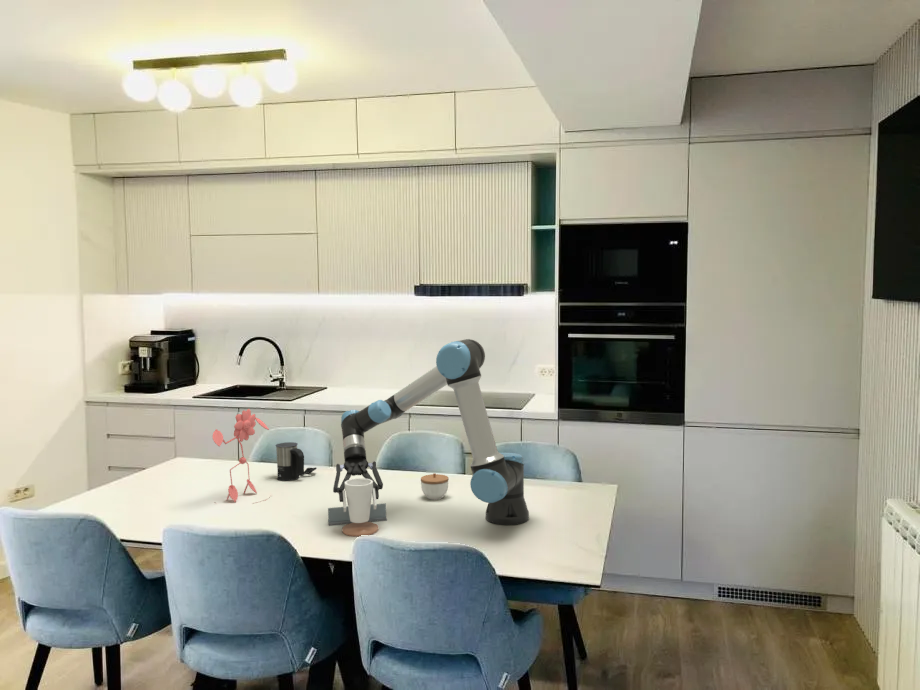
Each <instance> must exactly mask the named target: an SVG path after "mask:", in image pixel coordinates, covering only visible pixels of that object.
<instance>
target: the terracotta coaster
mask: <svg viewBox="0 0 920 690" xmlns="http://www.w3.org/2000/svg"><path fill="white" fill-rule="evenodd" d="M378 532H379V525H378V524H377V523H375V522H363V523H350V524H344V526H342V534H344V535H345V536H349V537H362V536H361V535H368V536H371V535H374V534H376V533H378Z"/></svg>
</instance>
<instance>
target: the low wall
mask: <svg viewBox="0 0 920 690" xmlns="http://www.w3.org/2000/svg"><path fill="white" fill-rule="evenodd" d="M327 516H328V517H327V523H328V526H339V525H347V524H350V523H353V522H351V521H350V516H349V509H348V505H346V512H344V509H343V506H336V507H335V506H334V507H327ZM384 521H388V518H387V503H385V502H384V503H383V502H382V503H377V507H376V509H374V505H373V503H371V507H370V516H369V520H368V521H367V522H372V523H375V522H384Z"/></svg>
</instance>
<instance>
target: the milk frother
mask: <svg viewBox="0 0 920 690" xmlns="http://www.w3.org/2000/svg"><path fill="white" fill-rule="evenodd" d="M298 445H299V444H298V442H293V441H291V442H290V441H287V442H279V443H277V444H275V448H276V463H277V464H276V465H277V478H276V479H277V480H278V481H294V480H298V479H299V478H300V476H303V475H306V474H308V475H310V474H311V473H312V472H314V471H316V470H317V467H307V468H306V469H305V455H304V452H303V449H300V448H298Z"/></svg>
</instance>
